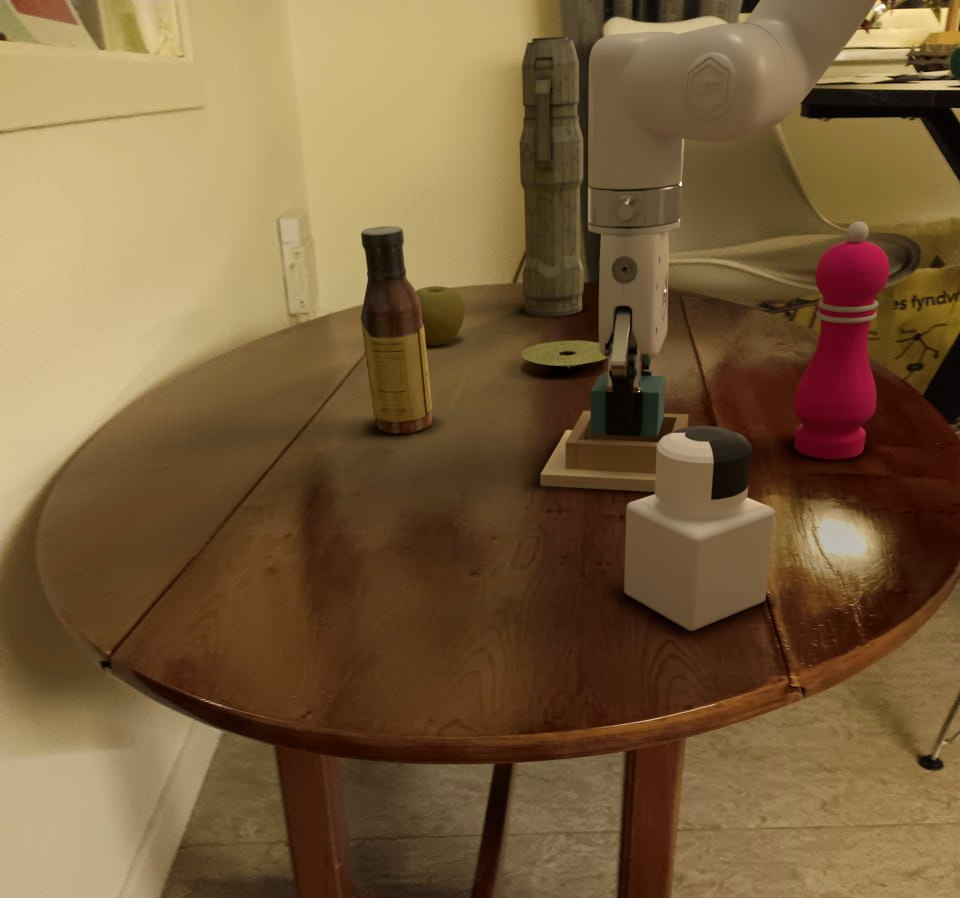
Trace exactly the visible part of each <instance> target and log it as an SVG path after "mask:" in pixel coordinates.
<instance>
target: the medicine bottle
mask: <svg viewBox="0 0 960 898" xmlns="http://www.w3.org/2000/svg"><path fill="white" fill-rule="evenodd" d="M751 459H752V444H751V443H750V442H749V440H748V439H747V437H745V436H744V435H743V434H741V433H739V432H735V431H733V430H731V429H728V428H725V427H720V426H714V425H713V426H712V425H692V426H688V427H686V428H682V429H678V430H676V431H673V432H670V433H668V434H666V435H665V436H663V437H662V439H661V440H660V441H659V442H658V443H657V452H656V476H655V492H654V494H651V495H648V496H645V497H643V498H640V499H636V500H633V501H630V502H628V503H627V505H626V507H625V510H626V511H625V544H624V545H625V546H624V581H623V582H624V586H623V591H624V594H625V595H626V596H628V597H630V598H631V599H633V600H635V601H637V602H638V603H640V604H642V605H644V606H645V607H647V608H649V609H651V610H653V611H654V612H656V613H658V614H659V615H661V616H663V617H665V618H666V619H668V620H670V621H672V622H673V623H675V624H677V625H678V626H680V627H681V628H684V629H685V630H687V631H689V632H694V631H696V630H697V631H698V630H699V629H702V628H704V627H707V626H709V625H711V624H714V623H716V622H718V621H721V620H723V619H726V618H728V617H730V616H733V615H736V614H738V613H740V612H743V611H745V610H747V609H750V608H752V607H755V606H757V605H759V604H762V603H763V602H765V601H766V599H767V589H768V579H769V570H770V561H771V554H772V552H771V551H772V544H773V534H774V533H773V532H774V525H775V515H776V511H775V509H774V508H773V507H772V506H768V505H766V504H764V503H762V502H759V501H757V500H754V499H752V498H749V497H748V492H749V481H750V480H749V479H750V470H751V469H750V468H751Z"/></svg>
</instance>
